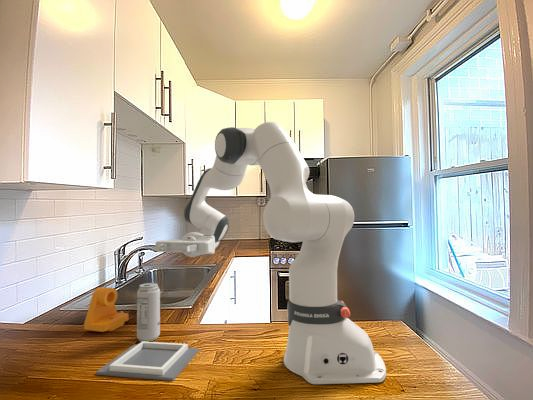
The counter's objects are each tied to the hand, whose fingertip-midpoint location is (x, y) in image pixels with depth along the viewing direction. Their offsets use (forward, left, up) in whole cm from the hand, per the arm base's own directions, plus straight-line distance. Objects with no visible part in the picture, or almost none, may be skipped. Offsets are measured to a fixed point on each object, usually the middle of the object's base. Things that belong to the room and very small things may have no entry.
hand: (172, 248), depth 97 cm
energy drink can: (+1, +12, -24) cm, 27 cm away
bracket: (+19, +5, -24) cm, 31 cm away
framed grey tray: (-7, +24, -24) cm, 35 cm away
